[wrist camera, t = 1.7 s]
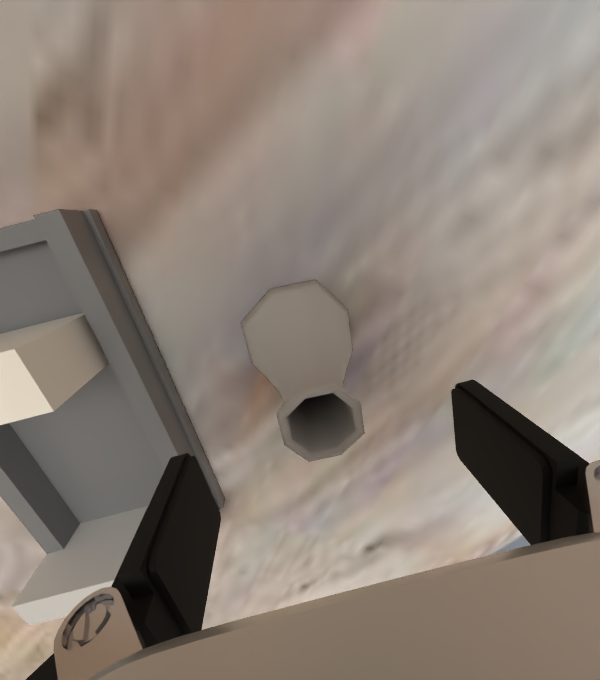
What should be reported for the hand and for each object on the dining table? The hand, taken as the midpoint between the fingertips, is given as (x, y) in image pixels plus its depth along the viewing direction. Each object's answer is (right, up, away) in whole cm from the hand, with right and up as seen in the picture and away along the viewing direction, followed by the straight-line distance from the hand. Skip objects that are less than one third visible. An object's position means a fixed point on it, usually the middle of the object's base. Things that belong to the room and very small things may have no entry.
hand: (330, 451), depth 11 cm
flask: (-1, +4, +10) cm, 11 cm away
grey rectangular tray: (-15, 0, +10) cm, 18 cm away
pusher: (-16, +3, +7) cm, 18 cm away
